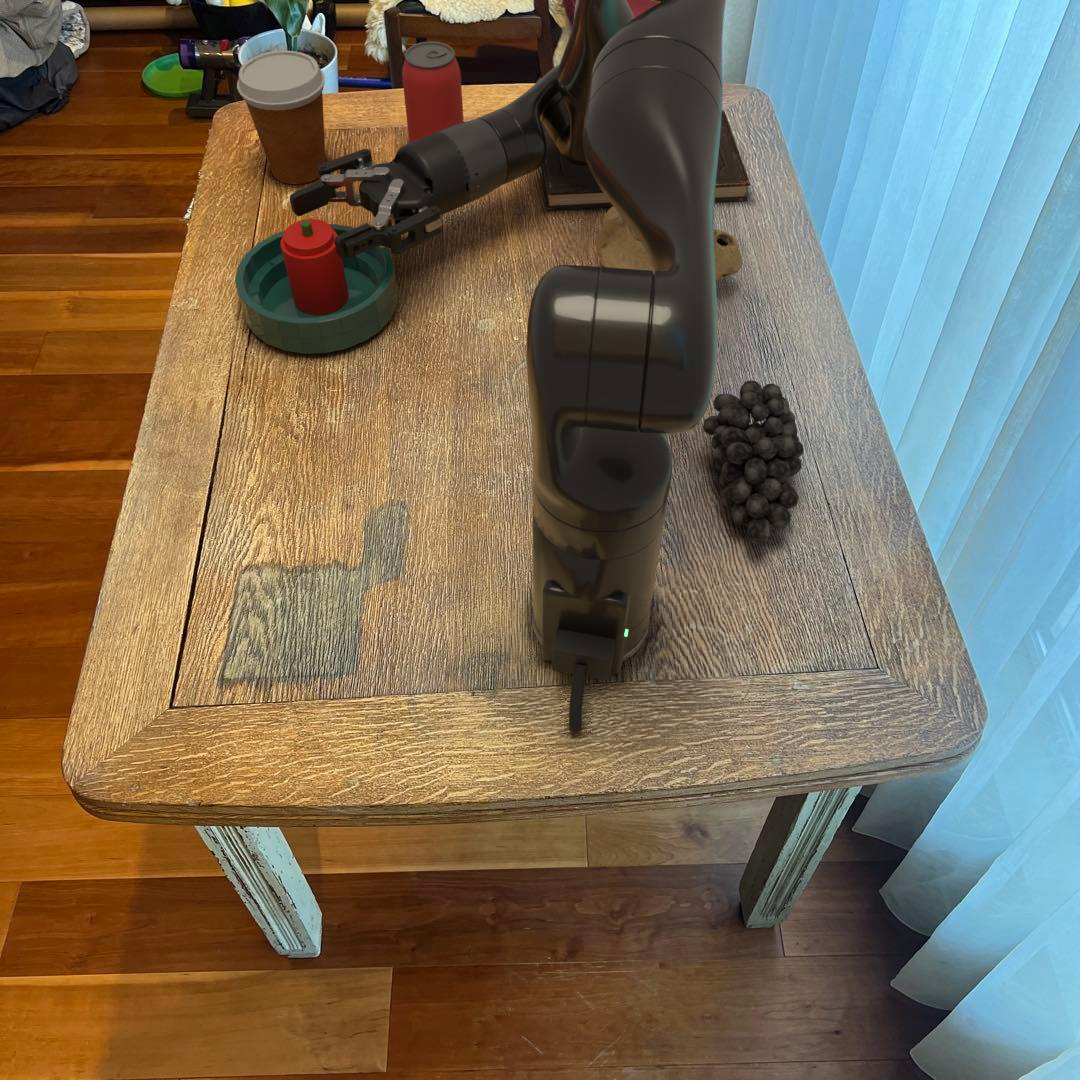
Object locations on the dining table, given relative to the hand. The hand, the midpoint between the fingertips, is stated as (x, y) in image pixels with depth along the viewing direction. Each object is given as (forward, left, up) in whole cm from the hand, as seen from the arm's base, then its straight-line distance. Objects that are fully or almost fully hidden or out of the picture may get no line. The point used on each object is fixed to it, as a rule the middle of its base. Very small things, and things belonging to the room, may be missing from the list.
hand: (314, 227), depth 98 cm
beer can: (+29, -3, -9) cm, 31 cm away
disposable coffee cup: (+22, +12, -9) cm, 27 cm away
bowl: (-1, +1, -9) cm, 9 cm away
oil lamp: (+11, -33, -9) cm, 36 cm away
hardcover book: (+31, -27, -9) cm, 43 cm away
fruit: (-17, -44, -9) cm, 48 cm away
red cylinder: (0, +1, -9) cm, 9 cm away
